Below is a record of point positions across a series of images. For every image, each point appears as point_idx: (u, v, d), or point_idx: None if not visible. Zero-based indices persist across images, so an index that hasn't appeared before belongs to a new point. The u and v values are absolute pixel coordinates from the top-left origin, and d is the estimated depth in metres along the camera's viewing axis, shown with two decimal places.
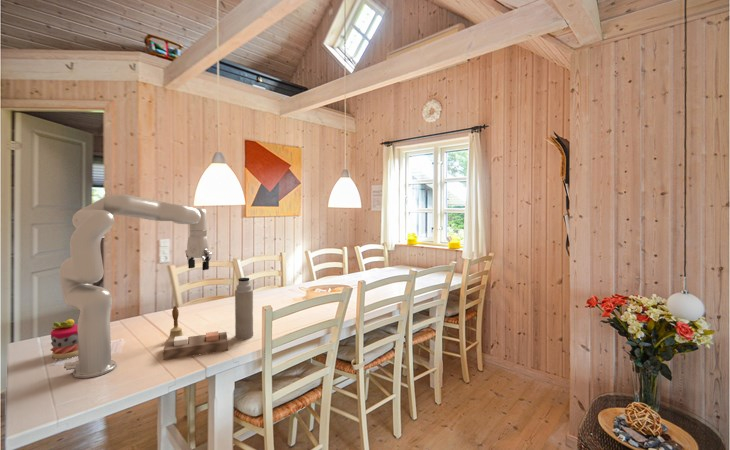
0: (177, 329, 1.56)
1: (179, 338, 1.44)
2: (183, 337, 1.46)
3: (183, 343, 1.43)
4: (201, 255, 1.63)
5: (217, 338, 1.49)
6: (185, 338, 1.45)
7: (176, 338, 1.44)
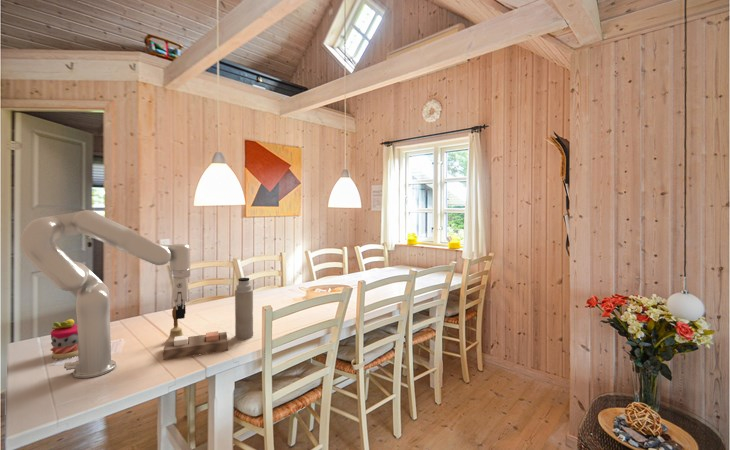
0: (177, 329, 1.56)
1: (179, 338, 1.44)
2: (183, 337, 1.46)
3: (183, 343, 1.43)
4: None
5: (217, 338, 1.49)
6: (185, 338, 1.45)
7: (176, 338, 1.44)
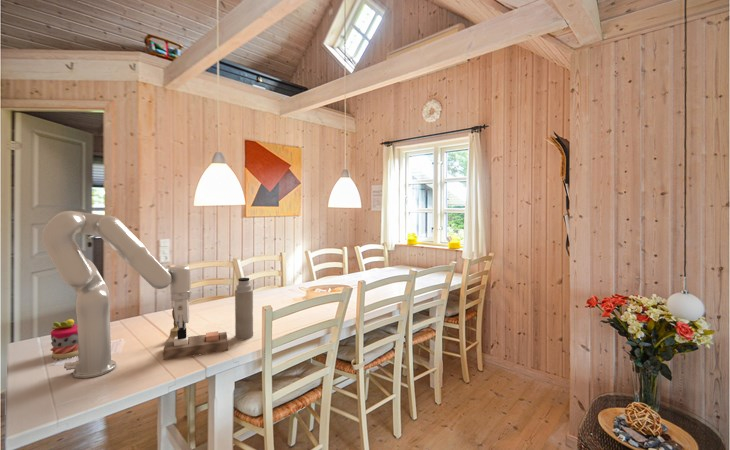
0: (177, 329, 1.56)
1: None
2: None
3: (183, 343, 1.43)
4: None
5: (217, 338, 1.49)
6: (185, 338, 1.45)
7: (176, 338, 1.45)
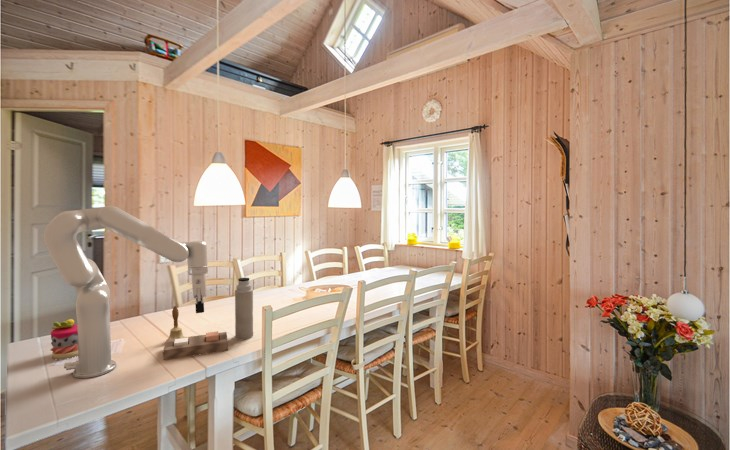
0: (177, 329, 1.56)
1: (179, 340, 1.44)
2: (183, 339, 1.46)
3: None
4: None
5: (217, 338, 1.49)
6: (185, 340, 1.45)
7: (176, 340, 1.45)
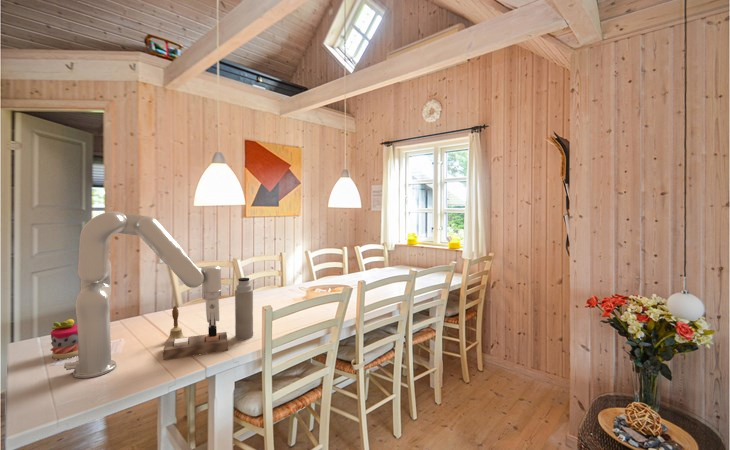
0: (177, 329, 1.56)
1: (179, 340, 1.44)
2: (183, 339, 1.46)
3: None
4: None
5: None
6: (185, 340, 1.45)
7: (176, 340, 1.45)
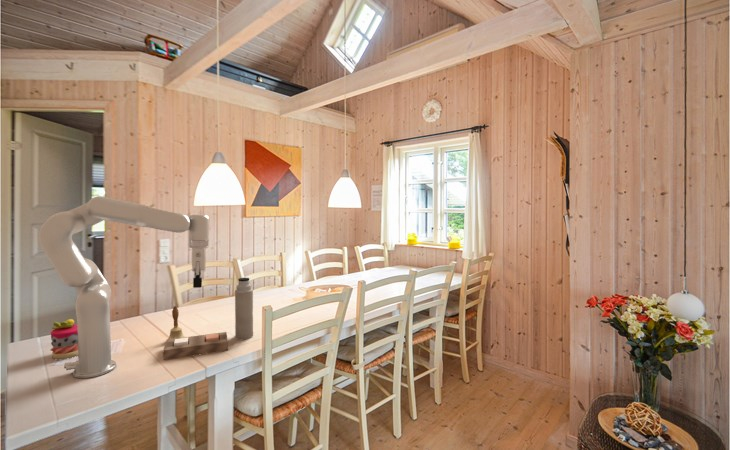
0: (177, 329, 1.56)
1: (179, 340, 1.44)
2: (183, 339, 1.46)
3: None
4: None
5: None
6: (185, 340, 1.45)
7: (176, 340, 1.45)
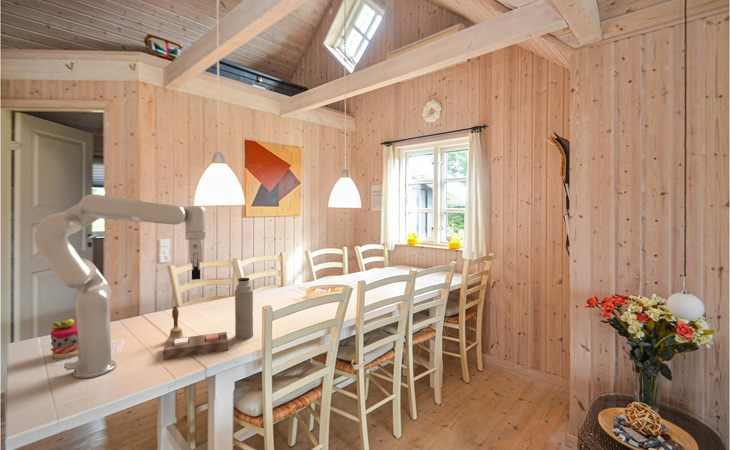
0: (177, 329, 1.56)
1: (179, 340, 1.44)
2: (183, 339, 1.46)
3: None
4: None
5: None
6: (185, 340, 1.45)
7: (176, 340, 1.45)
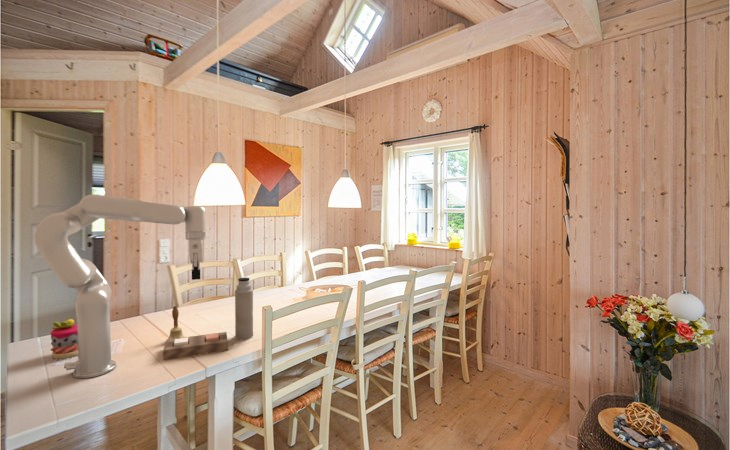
0: (177, 329, 1.56)
1: (179, 340, 1.44)
2: (183, 339, 1.46)
3: None
4: None
5: None
6: (185, 340, 1.45)
7: (176, 340, 1.45)
